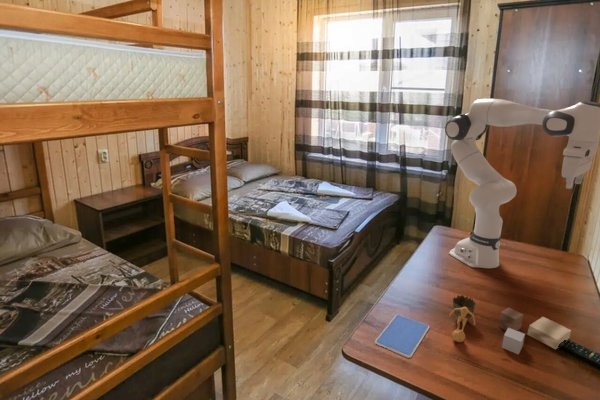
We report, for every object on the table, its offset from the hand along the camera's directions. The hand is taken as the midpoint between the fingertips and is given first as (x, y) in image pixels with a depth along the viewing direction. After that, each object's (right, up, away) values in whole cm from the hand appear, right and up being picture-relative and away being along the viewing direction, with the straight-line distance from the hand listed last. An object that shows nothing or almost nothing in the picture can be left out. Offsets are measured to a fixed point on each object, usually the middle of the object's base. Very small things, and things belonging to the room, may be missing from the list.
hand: (573, 185), depth 141 cm
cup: (-42, -49, -2) cm, 64 cm away
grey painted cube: (-31, -53, -15) cm, 64 cm away
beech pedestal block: (-16, -52, -11) cm, 55 cm away
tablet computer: (-65, -52, -9) cm, 84 cm away
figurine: (-47, -52, -12) cm, 71 cm away
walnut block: (-27, -50, -6) cm, 57 cm away
